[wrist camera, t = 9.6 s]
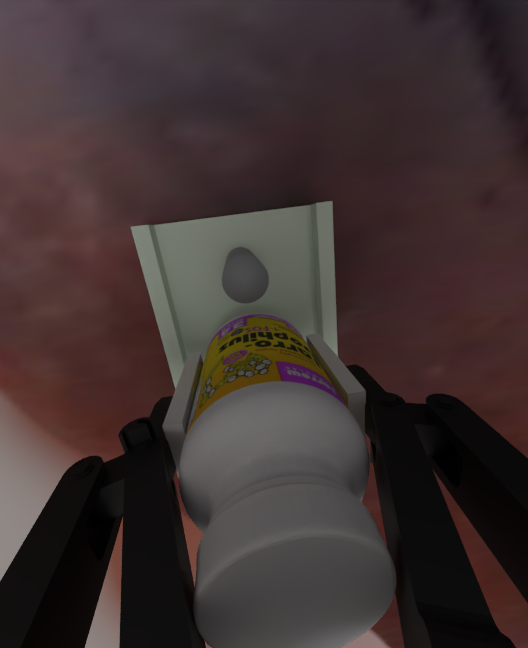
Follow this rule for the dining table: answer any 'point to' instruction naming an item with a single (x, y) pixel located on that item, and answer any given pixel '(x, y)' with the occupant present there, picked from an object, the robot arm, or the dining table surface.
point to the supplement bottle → (279, 497)
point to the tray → (202, 270)
